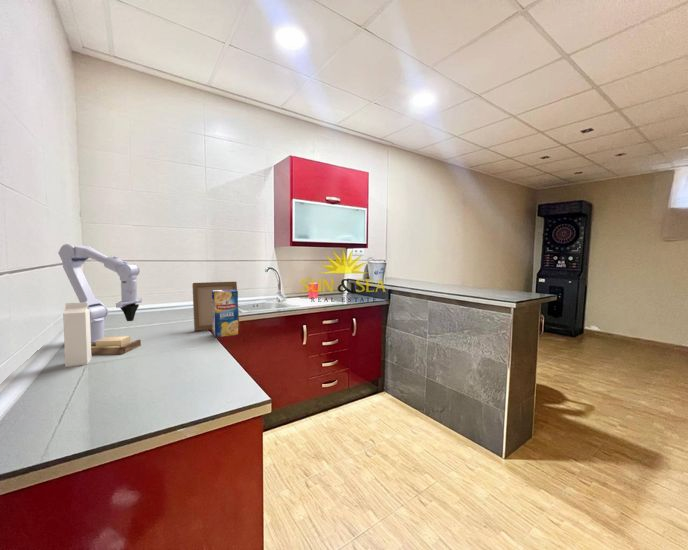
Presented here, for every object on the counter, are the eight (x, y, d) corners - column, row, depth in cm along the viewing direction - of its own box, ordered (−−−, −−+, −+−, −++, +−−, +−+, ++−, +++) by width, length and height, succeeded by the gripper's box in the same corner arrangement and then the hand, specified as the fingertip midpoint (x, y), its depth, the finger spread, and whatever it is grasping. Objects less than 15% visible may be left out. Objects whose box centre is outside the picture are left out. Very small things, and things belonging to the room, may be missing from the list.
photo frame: (239, 327, 162) (238, 282, 161) (195, 332, 151) (194, 283, 149) (233, 322, 175) (233, 280, 173) (192, 326, 163) (191, 281, 162)
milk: (87, 364, 106) (85, 303, 104) (64, 367, 103) (62, 304, 101) (91, 359, 111) (89, 301, 110) (70, 361, 108) (67, 302, 107)
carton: (96, 353, 118) (95, 341, 117) (106, 348, 125) (106, 336, 124) (121, 352, 119) (121, 340, 119) (130, 347, 126) (130, 335, 126)
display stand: (80, 354, 116) (79, 347, 116) (102, 345, 127) (101, 339, 127) (122, 354, 117) (122, 347, 117) (140, 345, 128) (140, 339, 128)
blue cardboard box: (212, 334, 148) (211, 290, 147) (234, 331, 154) (234, 289, 153) (214, 337, 142) (214, 292, 141) (238, 334, 149) (238, 290, 147)
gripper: (127, 293, 126) (128, 324, 126) (148, 289, 140) (148, 317, 141) (110, 292, 125) (111, 324, 126) (132, 289, 140) (133, 317, 140)
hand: (130, 320), depth 133 cm, fingers closed
